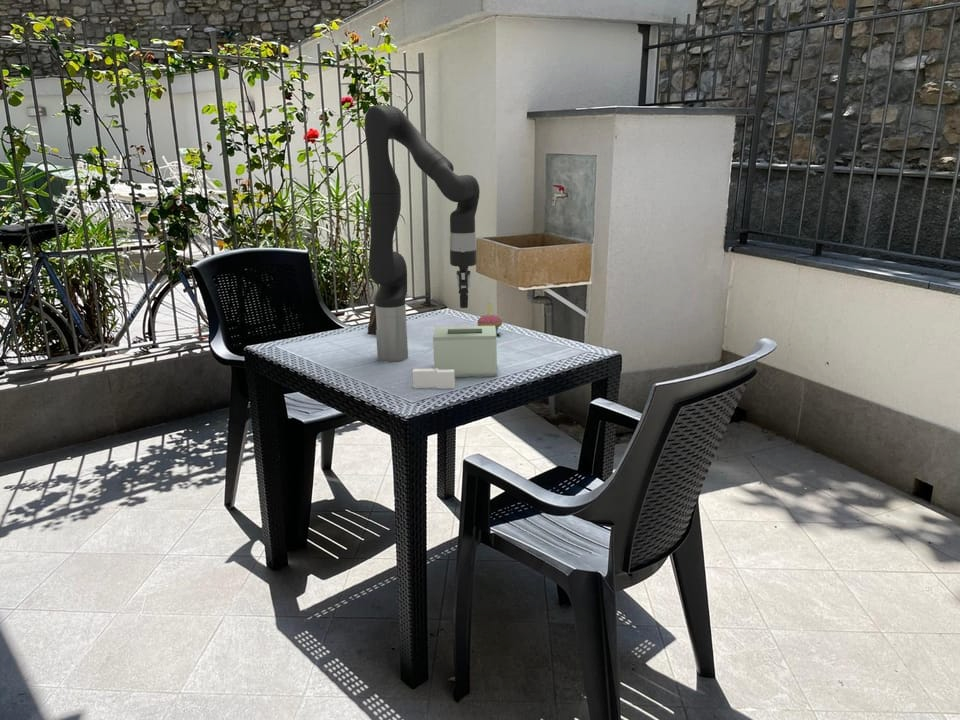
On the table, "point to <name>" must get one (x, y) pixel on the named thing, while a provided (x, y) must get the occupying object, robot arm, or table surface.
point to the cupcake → (490, 320)
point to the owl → (373, 319)
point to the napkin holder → (433, 378)
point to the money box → (466, 350)
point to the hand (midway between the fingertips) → (464, 304)
